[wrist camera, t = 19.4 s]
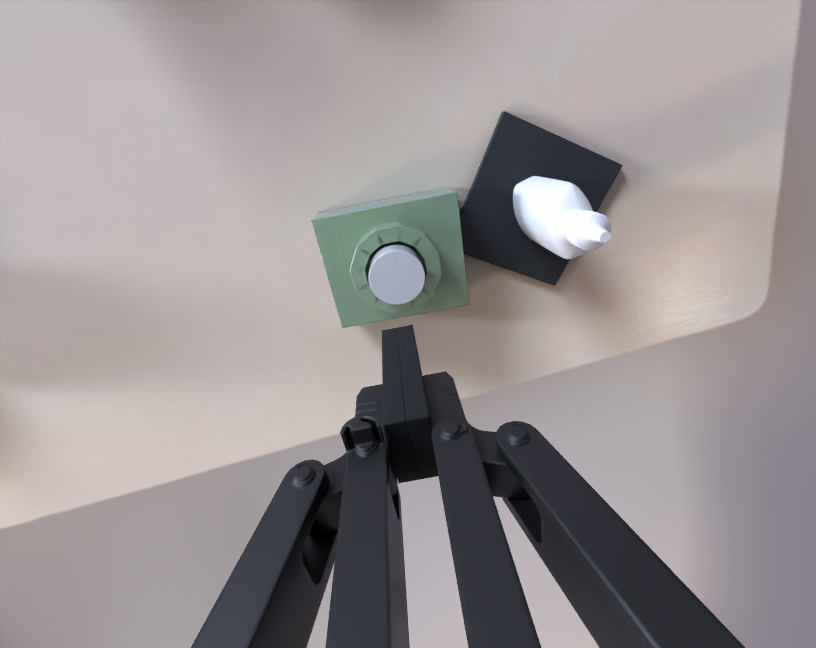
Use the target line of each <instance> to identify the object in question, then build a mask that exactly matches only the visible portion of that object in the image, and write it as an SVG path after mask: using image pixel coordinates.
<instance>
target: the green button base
mask: <svg viewBox="0 0 816 648" xmlns="http://www.w3.org/2000/svg"><path fill="white" fill-rule="evenodd" d="M311 222H312V225H313V229H314V232H315V235H316V239H317V242H318V246H319V249H320V253H321V256H322V260H323V263H324V266H325V270H326V273H327V277H328V280H329V284H330V287H331V291H332V294H333V297H334V301H335V304H336V308H337V311H338V315H339V318H340V322H341V325H342V328H345V327H350V326H356V325H361V324H366V323H372V322H377V321H382V320H388V319H393V318H398V317H404V316H409V315H414V314H420V313H425V312H431V311H436V310H441V309H447V308H452V307H457V306H463V305H468V304H469V298H468V289H467V279H466V270H465V261H464V251H463V242H462V233H461V223H460V214H459V205H458V195H457V192H456V191H454V190H453V189H451V188H449V187H447V188H441V189H436V190H431V191H426V192H421V193H416V194H410V195H405V196H400V197H395V198H390V199H384V200H379V201H374V202H369V203H364V204H359V205H353V206H348V207H343V208H338V209H333V210H328V211H322V212H319V213H318V214H317V215H316V216H315V217H314V218H313V219H312V220H311ZM394 244H399V245H404V246H407V247H409V248H411V249H412V250H413V251H415V253H416V254H417V255H418V256H419V258H420V260H421V262H422V265H423V268H424V272H425V283H424V286H423V289H422V291H421V292H420V293H419V295H418V296H417V297H416V298H414V299H413V300H411V301H410V302H407V303H404V304H389V303H386V302H384V301H382V300H380V299H379V298H378V297H377V296H376V295H375V294H374V293H373V291H372V290H371V287H370V284H369V268H370V263H371V260H372V258H373V256H374V255H375V254H376V253H377V252H378V251H379V250H380V249H382V248H383V247H386V246H389V245H394Z"/></svg>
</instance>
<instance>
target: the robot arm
mask: <svg viewBox="0 0 816 648" xmlns="http://www.w3.org/2000/svg"><path fill="white" fill-rule="evenodd" d="M382 370H383V384H381V385H375V386H370V387H365V388H362V389H361V391H360V393H359V394H358V396H357V401H356V412H355V413H356V414H355V417H354V418H352V419H351V420H349V421H347V422H346V424H345V425H344V426H343V427H342V429H341V432H340V434H341V436H342V439H343V442H344V445H345V448H346V451H347V452H346V453H345V454H344V455H343V456H342V457H340V458H338V459H337V460H335V461H333V462H331V463H328V464H326V465H324V466H323V464H322V463H321V462H319V461H317V460H306V461H303V462H301V463H299V464H297V465H295V466H294V467H293V468H291V469H290V470H289V472H288V473H287V474H286V475H285V477H284V479H283V481H282V483H281V484H280V486H279V488H278V490H277V492H276V493H275V495H274V497H273V499H272V501H271V503H270V504H269V506H268V508H267V510H266V512H265V513H264V515H263V517H262V519H261V521H260V523H259V524H258V526H257V528H256V530H255V532H254V534H253V536H252V537H251V539H250V541H249V543H248V544H247V546H246V548H245V550H244V552H243V554H242V555H241V557H240V559H239V561H238V563H237V565H236V566H235V568H234V570H233V572H232V574H231V575H230V577H229V579H228V581H227V583H226V585H225V587H224V589H223V590H222V592H221V594H220V596H219V597H218V599H217V601H216V603H215V605H214V607H213V608H212V610H211V612H210V614H209V616H208V617H207V619H206V621H205V623H204V625H203V627H202V628H201V630H200V632H199V634H198V636H197V638H196V639H195V641H194V643H193V645H192V647H191V648H306V647H307V644H308V641H309V638H310V634H311V632H312V628H313V625H314V622H315V619H316V616H317V613H318V610H319V607H320V604H321V601H322V598H323V594H324V592H325V589H326V586H327V582H328V579H329V576H330V573H331V570H332V567H333V564H334V561H335V565H334V574H333V584H332V594H331V602H330V611H329V621H328V630H327V639H326V648H410V647H409V632H408V614H407V598H406V582H405V566H404V549H403V533H402V517H401V500H400V494H399V491H398V486H397V478H398V482H399V483H402V482H408V481H413V480H419V479H424V478H430V477H434V476H439V481H440V486H441V492H442V498H443V504H444V510H445V515H446V521H447V527H448V532H449V538H450V544H451V550H452V556H453V561H454V566H455V573H456V578H457V584H458V590H459V595H460V601H461V607H462V613H463V618H464V624H465V630H466V635H467V641H468V647H469V648H541V645H540V642H539V639H538V636H537V633H536V630H535V626H534V623H533V620H532V617H531V614H530V611H529V608H528V605H527V601H526V598H525V596H524V592H523V589H522V586H521V583H520V580H519V577H518V574H517V571H516V567H515V564H514V561H513V558H512V555H511V552H510V548H509V545H508V543H507V539H506V536H505V533H504V530H503V527H502V524H501V520H500V517H499V514H498V511H497V508H496V505H495V502H494V499H493V496H496V497H502V498H503V501H504V502H505V504H506V505H507V507H508V508H509V510H510V511H511V513H512V514H513V515H514V517H515V519H516V520H517V522H518V523H519V525H520V526H521V528H522V530H523V531H524V533H525V534H526V536H527V537H528V539H529V540H530V542H531V543H532V545H533V546H534V548H535V550H536V551H537V552H538V554H539V556H540V557H541V558H542V560H543V562H544V563H545V565H546V566H547V568H548V569H549V571H550V572H551V574H552V576H553V577H554V578H555V580H556V582H557V583H558V585H559V586H560V588H561V589H562V591H563V592H564V594H565V595H566V597H567V598H568V600H569V601H570V603H571V605H572V606H573V608H574V609H575V611H576V612H577V614H578V615H579V617H580V618H581V620H582V621H583V623H584V624H585V626H586V627H587V629H588V631H589V632H590V634H591V635H592V637H593V638H594V640H595V641H596V643H597V644H598V646H599V648H745V647H744V646H743V645H742V644H741V643H740V642H739V641H738V640H737V639H736V638H735V636H734V635H733V634H732V633H731V632H730V631H729V630H728V629H727V628H726V627H725V626H724V625H723V624H722V623H721V622H720V621H719V620H718V619H717V618H716V617H715V615H714V614H713V613H712V612H711V611H710V610H709V609H708V608H707V607H706V606H705V605H704V604H703V603H702V602H701V601H700V600H699V599H698V598H697V597H696V596H695V595H694V594H693V593H692V591H691V590H690V589H689V588H688V587H687V586H686V585H685V584H684V583H683V582H682V581H681V580H680V579H679V578H678V577H677V576H676V575H675V574H674V573H673V572H672V571H671V569H670V568H669V567H668V566H667V565H666V564H665V563H664V562H663V561H662V560H661V559H660V558H659V557H658V556H657V555H656V554H655V553H654V552H653V551H652V550H651V549H650V548H649V546H648V545H647V544H646V543H645V542H644V541H643V540H642V539H641V538H640V537H639V536H638V535H637V534H636V533H635V532H634V531H633V530H632V529H631V528H630V527H629V526H628V525H627V523H625V521H624V520H623V519H622V518H621V517H620V516H619V515H618V514H617V513H616V512H615V511H614V510H613V509H612V508H611V507H610V506H609V505H608V504H607V503H606V501H605V500H604V499H603V498H602V497H601V496H600V495H599V494H598V493H597V492H596V491H595V490H594V489H593V488H592V487H591V486H590V485H589V484H588V483H587V482H586V481H585V480H584V479H583V477H582V476H580V474H579V473H578V472H577V471H576V470H575V469H574V468H573V467H572V466H571V465H570V464H569V463H568V462H567V461H566V460H565V459H564V458H563V456H562V455H560V453H559V452H558V451H557V450H556V449H555V448H554V447H553V446H552V445H551V444H550V443H549V442H548V441H547V440H546V439H545V438H544V437H543V436H542V435H541V434H540V432H539V431H538V430H537V429H536V428H534V427H533V426H531V425H530V424H527V423H524V422H519V421H512V422H508V423H505V424H503V425H502V426H500V427H499V429H498V430H497V432H488V431H481V430H478V429H476V428H474V427H472V426H471V425H470V424H469V423H468V422H467V420H466V418H465V415H464V412H463V409H462V406H461V402H460V399H459V396H458V393H457V390H456V387H455V383H454V380H453V378H452V377H451V376H450V375H449V374H448V373H447V372H441V373H435V374H430V375H424V376H422V372H421V367H420V361H419V356H418V351H417V346H416V340H415V335H414V330H413V325H409V326H404V327H399V328H394V329H388V330H383V331H382Z"/></svg>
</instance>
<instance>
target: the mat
mask: <svg viewBox="0 0 816 648" xmlns="http://www.w3.org/2000/svg"><path fill="white" fill-rule="evenodd" d="M621 167H622V165H621V164H619V163H616V162H614V161H612V160H610V159H608V158H605V157H603V156H601V155H599V154H597V153H595V152H592V151H590V150H588V149H586V148H584V147H581V146H579V145H577V144H575V143H573V142H570V141H568V140H566V139H564V138H562V137H560V136H557V135H555V134H553V133H551V132H549V131H546V130H544V129H542V128H540V127H538V126H535V125H533V124H531V123H529V122H527V121H524V120H522V119H520V118H518V117H516V116H514V115H511V114H509V113H507V112H505V111H504V112H502V113H501V116H500V118H499V120H498V123H497V125H496V128H495V130H494V133H493V135H492V138H491V140H490V142H489V145H488V147H487V150H486V152H485V155H484V157H483V160H482V162H481V164H480V167H479V169H478V172H477V174H476V177H475V179H474V181H473V184H472V186H471V189H470V191H469V194H468V196H467V199H466V201H465V203H464V206H463V208H462V211H461V213H460V223H461V233H462V242H463V251H464V254H467V255H470V256H472V257H475V258H478V259H481V260H484V261H486V262H489V263H492V264H495V265H498V266H501V267H503V268H506V269H509V270H512V271H515V272H517V273H520V274H523V275H526V276H529V277H532V278H534V279H537V280H540V281H543V282H546V283H548V284H551V285H554V286H555V285H556V283H557V281H558V279H559V278H560V276H561V274H562V272H563V271H564V269H565V267H566V265H567V263H568V262H569V260H570V259H565V258H562V257H560V256H558V255H556V254H555V253H553V252H551V251H550V250H548V249H546V248H545V247H543V246H541V245H540V244H538V243H536V242H535V241H533V240H531V239H530V238H529V237H528V236H527V235H526V234H525V233H524V232H523V230H522V229H521V227H520V225H519V224H518V221H517V219H516V216H515V213H514V207H513V191H514V188H515V186H516V185H517V184H518V183H520V182H522V181H524V180H526V179H528V178H530V177H532V176H539V177H545V178H551V179H556V180H561V181H566V182H570V183H572V184H574V185H576V186H577V187H578V188H579V189H580V190H581V191H582V192H583V194H584V195H585V196H586V198H587V199H588V201H589V203H590V205H591V207H592V210H593V212H597V210H598V208H599V206H600V205H601V203H602V201H603V199H604V198H605V196H606V194H607V192H608V190H609V189H610V187H611V185H612V183H613V182H614V180H615V178H616V176H617V174H618V173H619V171H620V169H621Z"/></svg>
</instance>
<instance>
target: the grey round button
mask: <svg viewBox="0 0 816 648" xmlns="http://www.w3.org/2000/svg"><path fill="white" fill-rule="evenodd" d="M424 283H425V272H424V268H423V265H422V262H421V260H420V258H419V256H418V255H417V254H416V253H415V251H413V250H412V249H411V248H409V247H407V246H404V245H399V244H394V245H389V246H386V247H383V248H382V249H380V250H379V251H378V252H377V253H376V254H375V255H374V256H373V258H372V260H371V263H370V268H369V284H370V287H371V290H372V291H373V293H374V294H375V295H376V296H377V297H378V298H379V299H380V300H382V301H384V302H386V303H389V304H404V303H407V302H410V301H411V300H413V299H414V298H416V297H417V296H418V295H419V293H420V292H421V291H422V289H423V286H424Z"/></svg>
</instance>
